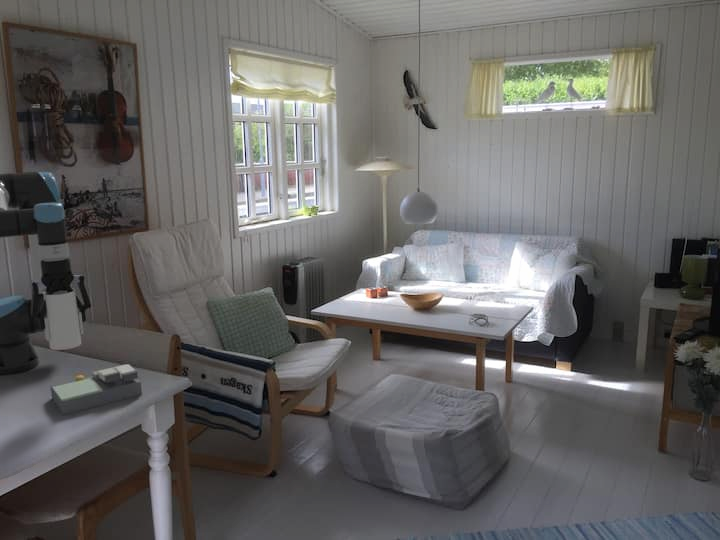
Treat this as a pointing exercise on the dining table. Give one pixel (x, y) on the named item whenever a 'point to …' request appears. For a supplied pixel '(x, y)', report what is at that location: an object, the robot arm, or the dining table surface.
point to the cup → (63, 320)
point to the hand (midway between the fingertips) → (64, 336)
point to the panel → (95, 390)
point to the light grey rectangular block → (109, 375)
